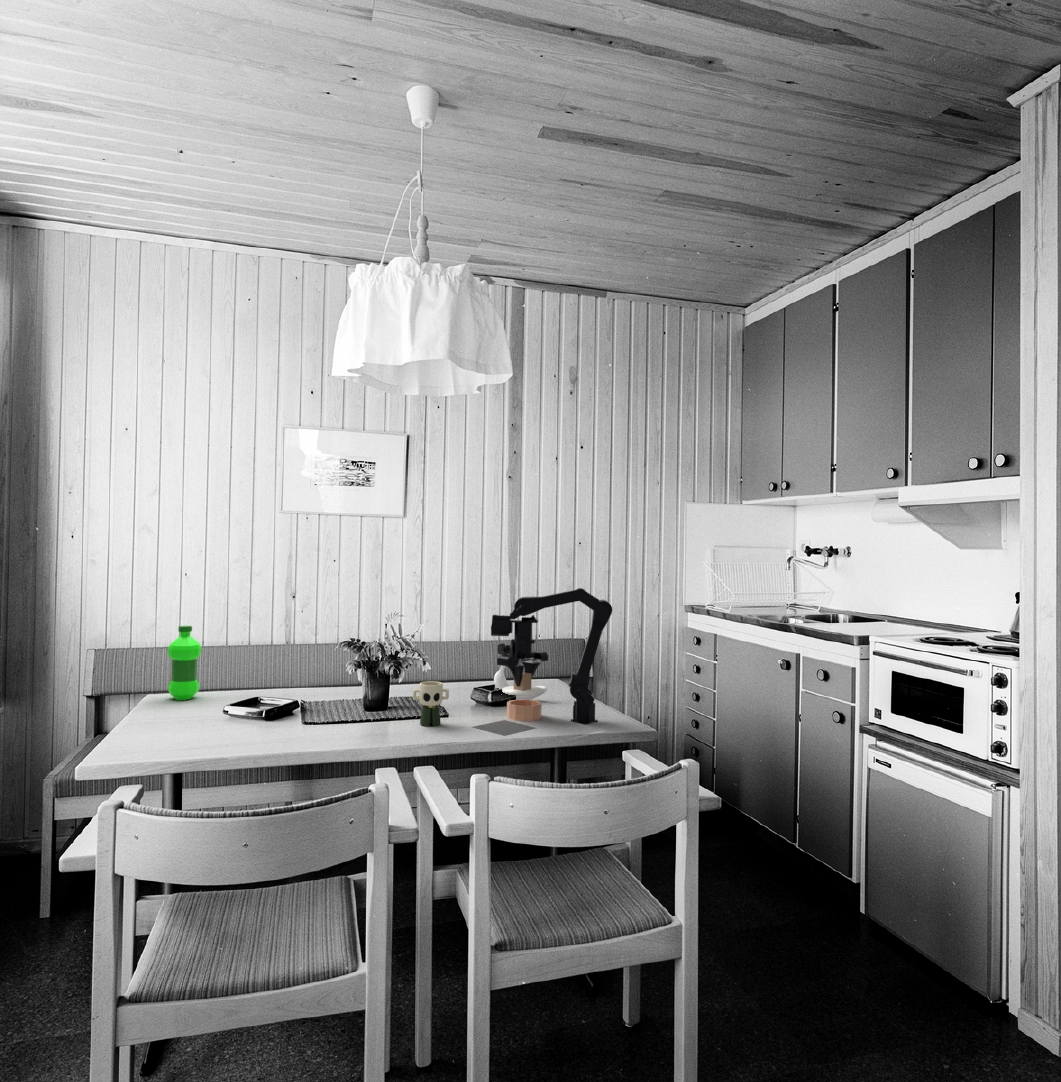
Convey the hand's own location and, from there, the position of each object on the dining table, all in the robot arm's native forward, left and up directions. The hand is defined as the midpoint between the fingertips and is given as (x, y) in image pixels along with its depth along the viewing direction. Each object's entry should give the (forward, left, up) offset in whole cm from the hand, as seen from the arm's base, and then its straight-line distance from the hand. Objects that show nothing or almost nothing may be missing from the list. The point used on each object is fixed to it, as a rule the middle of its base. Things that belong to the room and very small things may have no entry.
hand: (522, 685), depth 247 cm
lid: (0, 0, -2) cm, 2 cm away
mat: (-5, +13, -11) cm, 18 cm away
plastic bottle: (+100, +65, -11) cm, 120 cm away
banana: (+21, -21, -11) cm, 32 cm away
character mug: (+13, +27, -11) cm, 32 cm away
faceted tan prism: (+1, -2, -11) cm, 11 cm away
